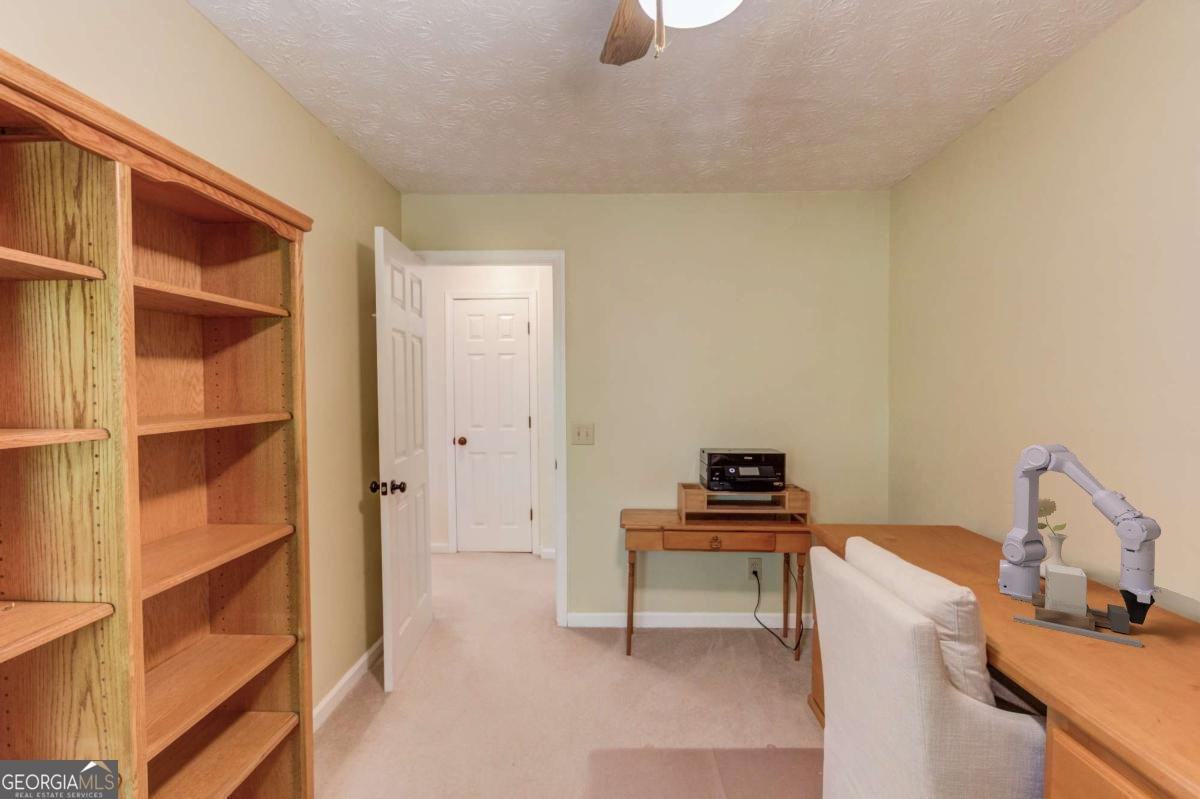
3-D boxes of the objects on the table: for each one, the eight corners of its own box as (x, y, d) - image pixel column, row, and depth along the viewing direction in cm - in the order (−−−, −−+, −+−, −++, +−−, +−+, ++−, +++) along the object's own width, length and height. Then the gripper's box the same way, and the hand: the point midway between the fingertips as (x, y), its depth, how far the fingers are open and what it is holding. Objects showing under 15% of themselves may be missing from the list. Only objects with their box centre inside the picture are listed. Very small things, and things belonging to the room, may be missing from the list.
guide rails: (1013, 621, 133) (1013, 617, 133) (1010, 597, 149) (1011, 593, 149) (1142, 647, 120) (1142, 643, 120) (1124, 618, 135) (1124, 614, 135)
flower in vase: (1076, 577, 165) (1077, 497, 164) (1084, 588, 155) (1086, 504, 155) (1023, 569, 172) (1024, 493, 171) (1028, 580, 162) (1029, 499, 162)
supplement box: (1081, 616, 136) (1082, 568, 136) (1086, 627, 130) (1087, 576, 130) (1044, 609, 141) (1045, 562, 140) (1047, 619, 134) (1048, 570, 134)
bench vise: (1035, 619, 133) (1035, 602, 133) (1031, 603, 144) (1032, 586, 144) (1132, 639, 123) (1132, 620, 123) (1120, 619, 133) (1121, 602, 133)
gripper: (1169, 579, 119) (1168, 639, 119) (1153, 562, 130) (1151, 616, 131) (1126, 572, 123) (1124, 630, 123) (1113, 556, 135) (1112, 609, 135)
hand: (1136, 622), depth 127 cm, fingers closed, pressing on bench vise
